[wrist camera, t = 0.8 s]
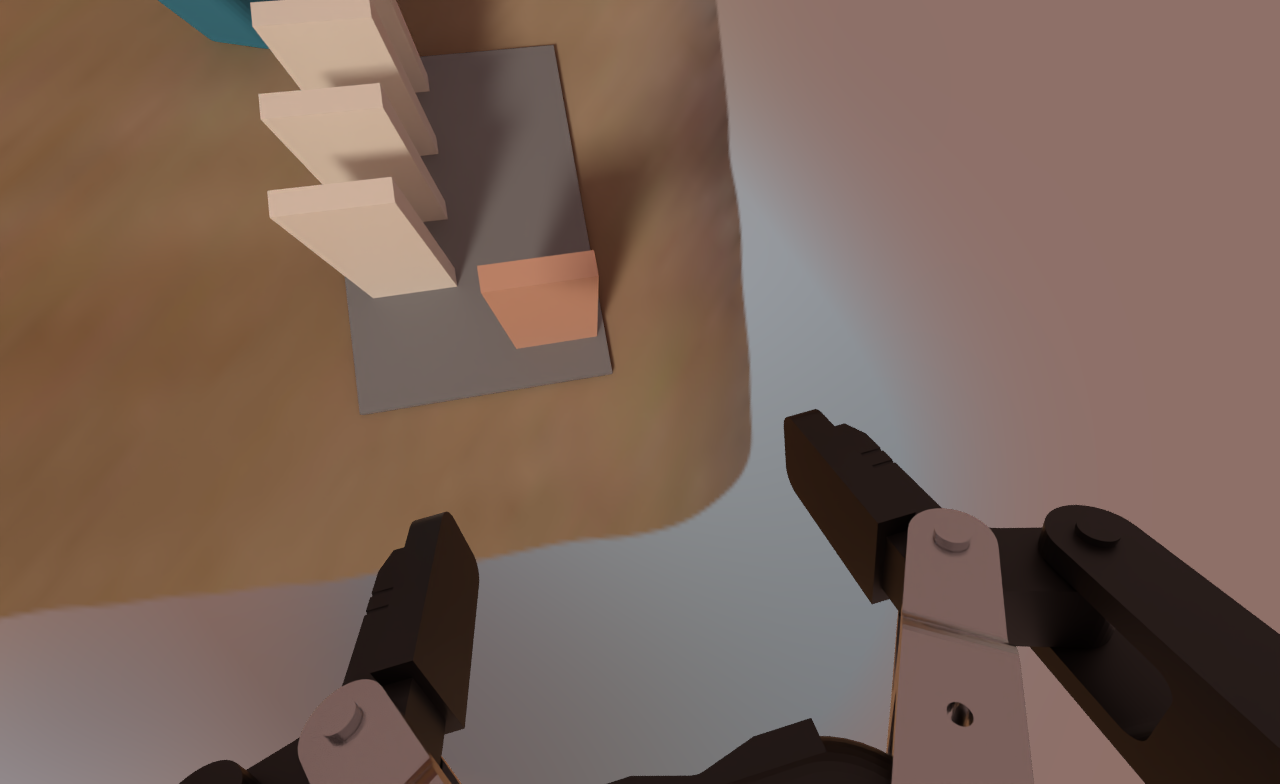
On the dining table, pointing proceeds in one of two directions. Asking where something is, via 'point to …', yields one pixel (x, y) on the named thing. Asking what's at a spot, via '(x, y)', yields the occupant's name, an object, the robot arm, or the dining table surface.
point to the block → (220, 19)
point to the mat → (481, 238)
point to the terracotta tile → (544, 297)
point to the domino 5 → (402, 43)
